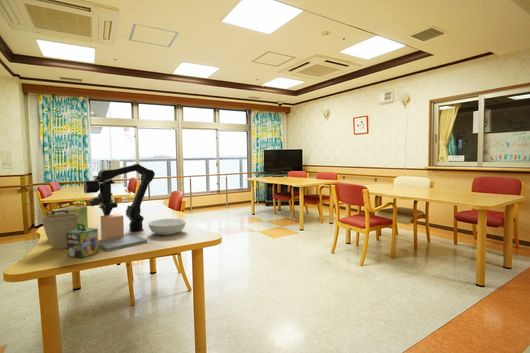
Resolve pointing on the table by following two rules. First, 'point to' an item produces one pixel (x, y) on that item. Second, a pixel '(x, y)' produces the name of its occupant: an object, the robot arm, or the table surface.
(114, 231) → the terracotta carton
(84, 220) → the protein box
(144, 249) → the table surface
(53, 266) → the table surface
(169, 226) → the serving bowl
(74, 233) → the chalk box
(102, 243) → the board
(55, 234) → the plant pot
